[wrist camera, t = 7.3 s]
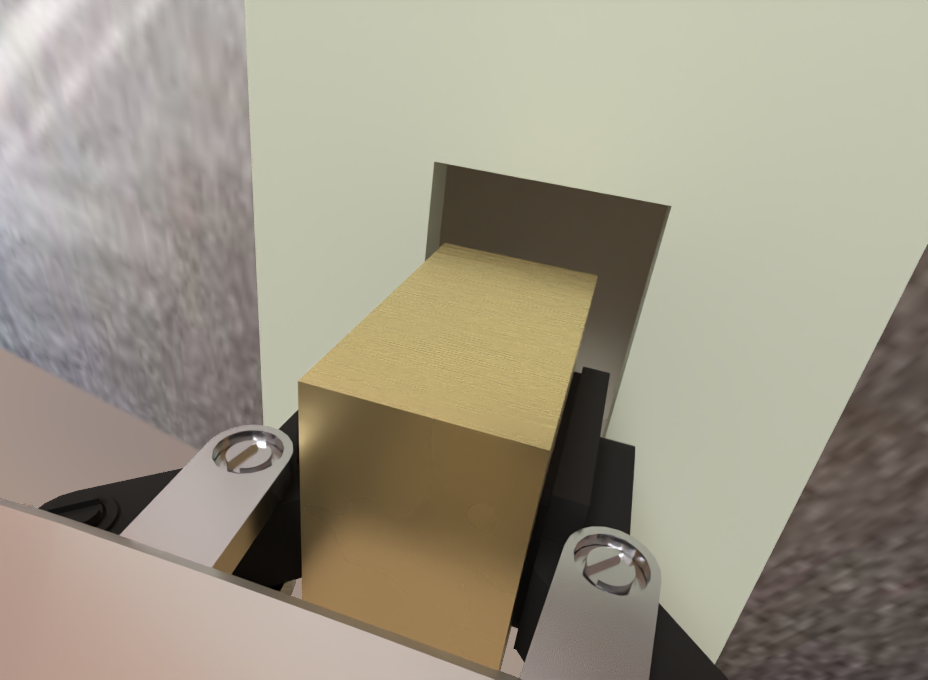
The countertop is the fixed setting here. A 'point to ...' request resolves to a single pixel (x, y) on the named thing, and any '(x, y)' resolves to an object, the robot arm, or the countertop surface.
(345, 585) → the block
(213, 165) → the countertop surface
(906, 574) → the countertop surface
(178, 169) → the countertop surface
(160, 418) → the countertop surface
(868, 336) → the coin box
